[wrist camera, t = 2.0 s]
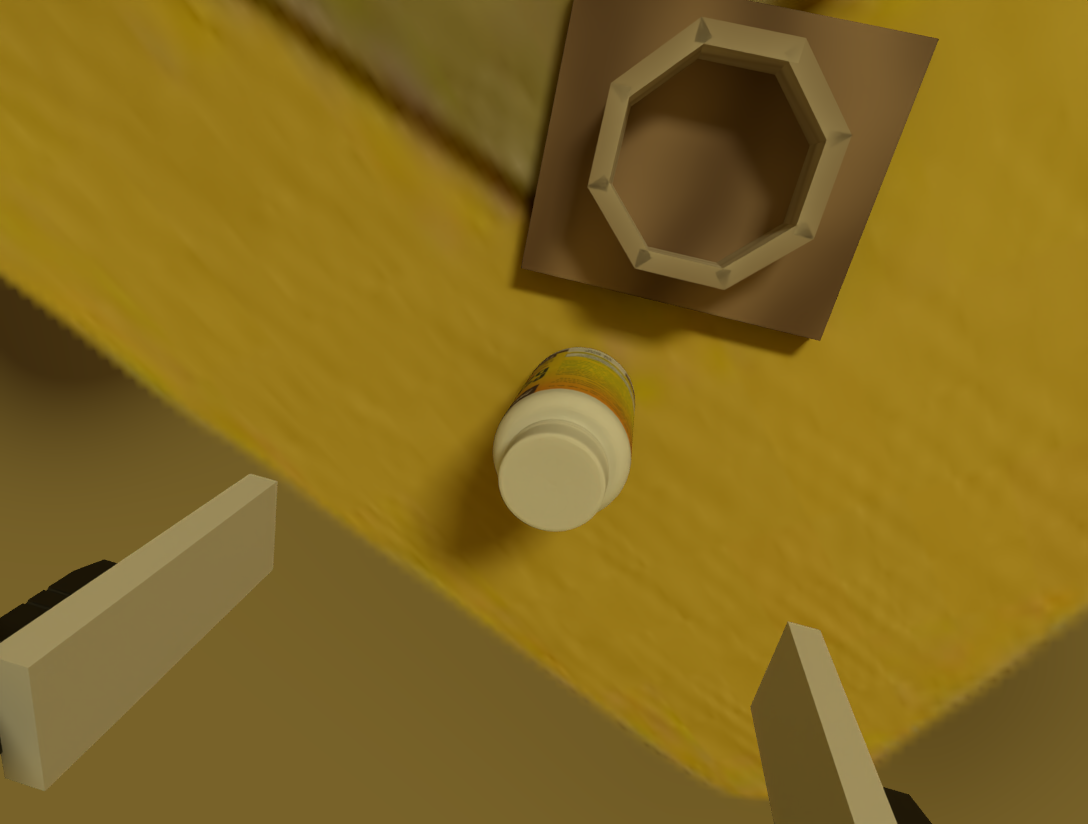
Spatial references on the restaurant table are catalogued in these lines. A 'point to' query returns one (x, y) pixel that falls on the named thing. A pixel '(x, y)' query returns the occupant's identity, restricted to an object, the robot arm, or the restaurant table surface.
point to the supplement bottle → (566, 440)
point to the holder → (719, 154)
